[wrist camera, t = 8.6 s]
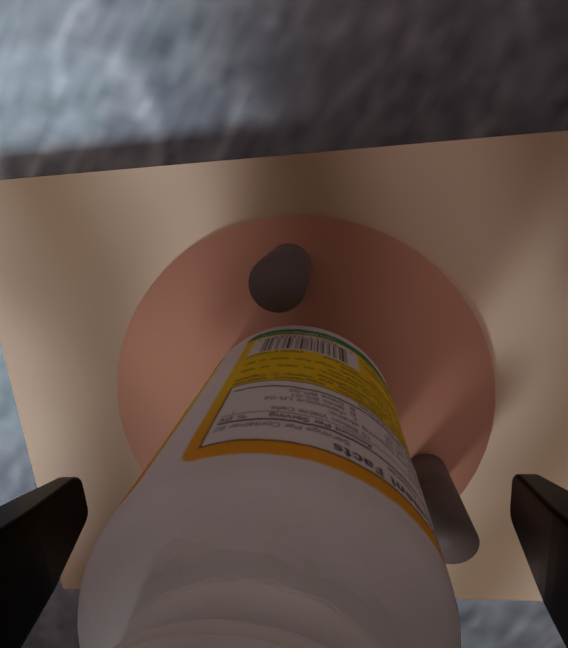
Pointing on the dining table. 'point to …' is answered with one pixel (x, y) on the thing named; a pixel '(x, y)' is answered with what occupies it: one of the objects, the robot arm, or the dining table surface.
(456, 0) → the dining table surface
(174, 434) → the supplement bottle
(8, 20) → the dining table surface
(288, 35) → the dining table surface
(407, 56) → the dining table surface
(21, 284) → the pin board
